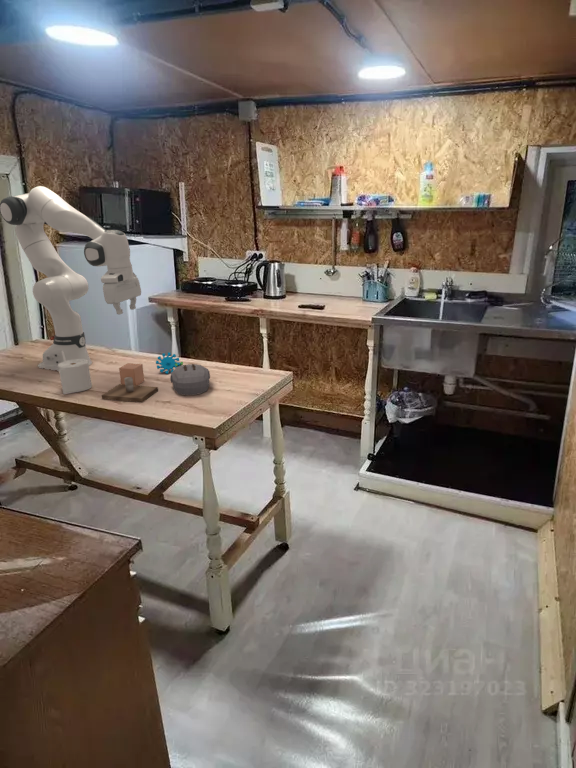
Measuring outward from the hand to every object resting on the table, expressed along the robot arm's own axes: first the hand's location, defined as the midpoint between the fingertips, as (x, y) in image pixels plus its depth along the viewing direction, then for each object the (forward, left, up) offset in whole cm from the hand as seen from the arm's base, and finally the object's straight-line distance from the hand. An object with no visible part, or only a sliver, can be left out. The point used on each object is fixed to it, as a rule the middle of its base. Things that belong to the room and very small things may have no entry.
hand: (126, 311), depth 189 cm
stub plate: (+7, -16, -28) cm, 33 cm away
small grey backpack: (+27, -4, -28) cm, 39 cm away
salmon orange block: (+1, -4, -28) cm, 28 cm away
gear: (+9, +12, -28) cm, 32 cm away
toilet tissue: (-17, -14, -28) cm, 35 cm away
